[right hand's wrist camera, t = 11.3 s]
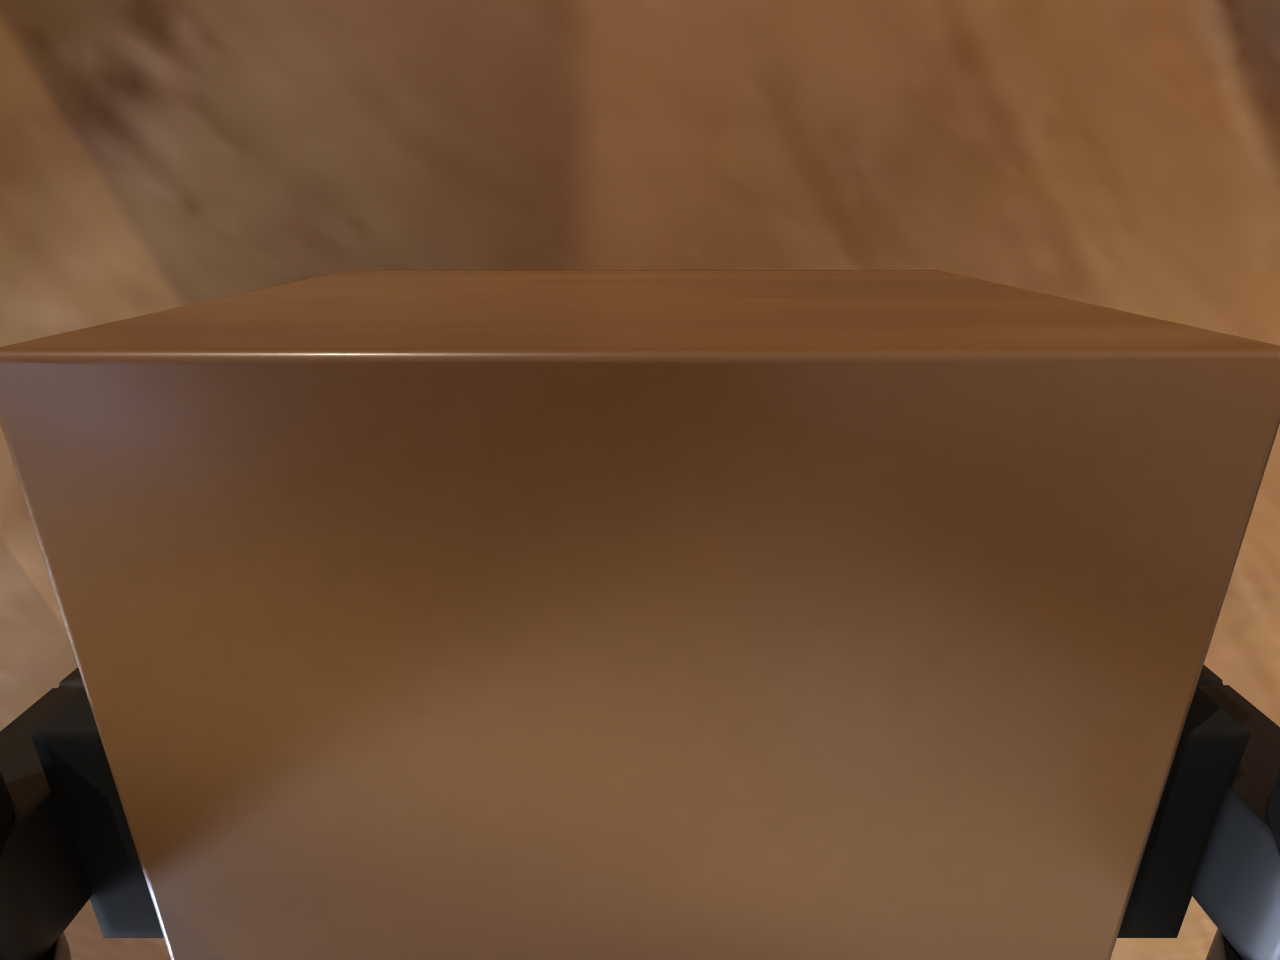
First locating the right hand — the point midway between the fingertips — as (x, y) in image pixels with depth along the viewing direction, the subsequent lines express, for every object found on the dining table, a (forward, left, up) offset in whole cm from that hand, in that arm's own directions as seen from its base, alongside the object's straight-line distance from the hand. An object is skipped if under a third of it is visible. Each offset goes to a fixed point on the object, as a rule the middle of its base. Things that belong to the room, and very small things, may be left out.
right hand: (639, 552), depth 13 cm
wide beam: (-9, -28, -1) cm, 30 cm away
